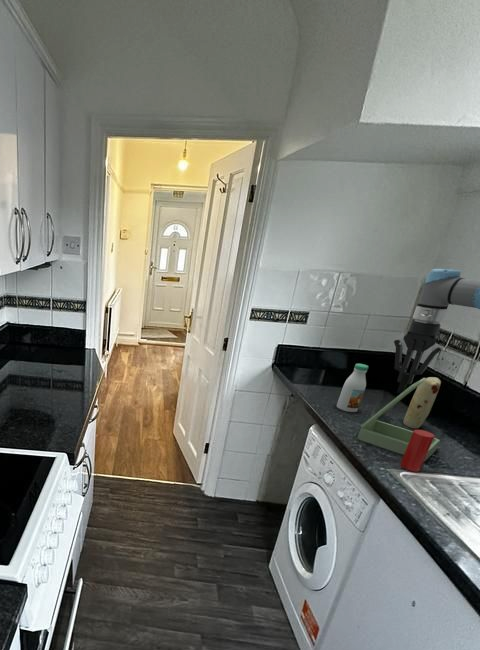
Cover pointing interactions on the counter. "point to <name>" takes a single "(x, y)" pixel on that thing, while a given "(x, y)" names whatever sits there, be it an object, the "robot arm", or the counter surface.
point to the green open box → (390, 437)
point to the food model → (422, 402)
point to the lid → (393, 402)
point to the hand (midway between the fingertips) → (400, 392)
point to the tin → (417, 450)
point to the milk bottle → (353, 389)
